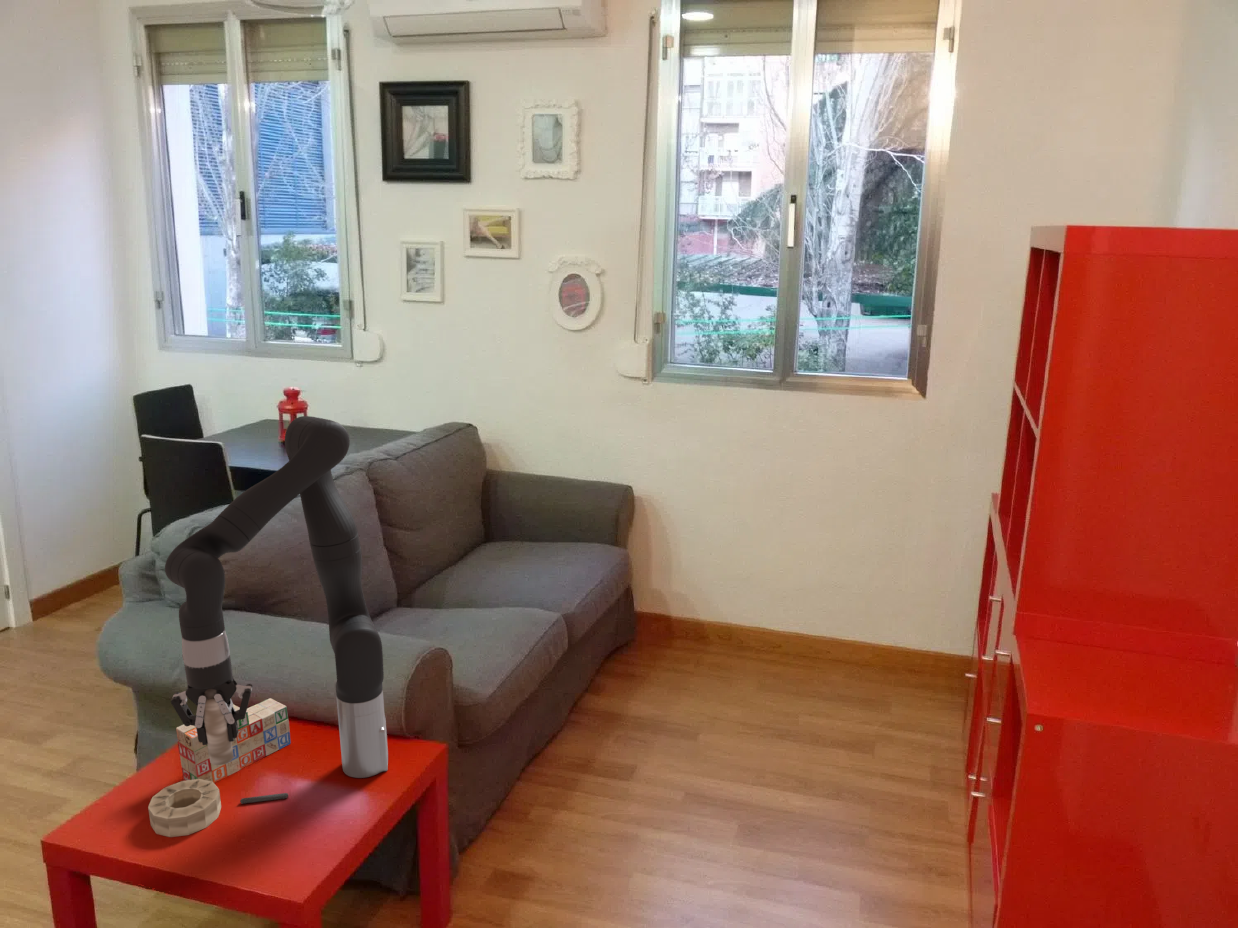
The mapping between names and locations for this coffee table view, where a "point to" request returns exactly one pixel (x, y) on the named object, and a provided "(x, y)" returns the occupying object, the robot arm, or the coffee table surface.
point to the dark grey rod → (264, 798)
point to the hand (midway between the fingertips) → (219, 740)
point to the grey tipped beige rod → (216, 731)
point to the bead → (184, 807)
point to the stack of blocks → (236, 742)
